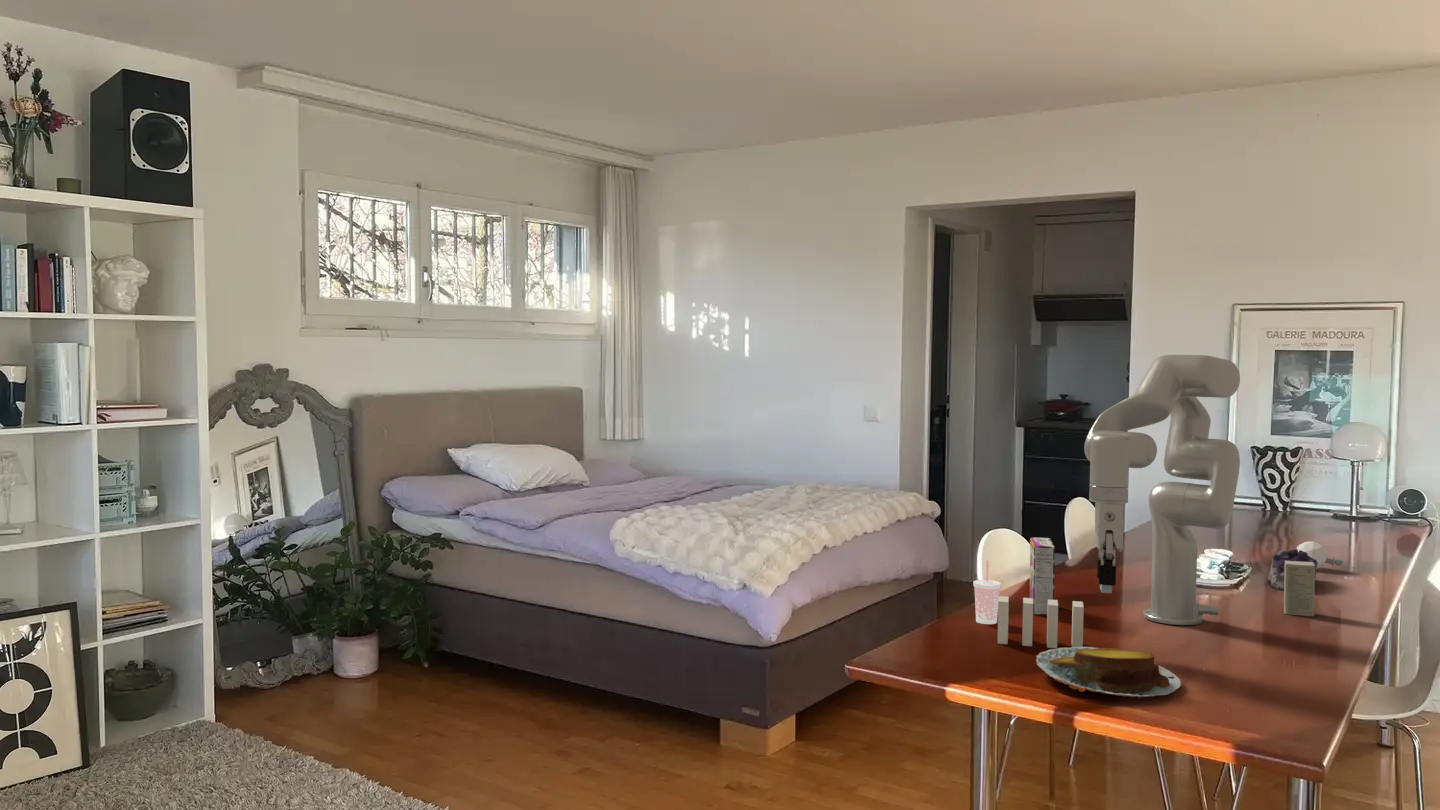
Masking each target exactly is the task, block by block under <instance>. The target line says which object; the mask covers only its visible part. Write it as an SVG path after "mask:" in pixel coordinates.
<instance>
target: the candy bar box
mask: <svg viewBox="0 0 1440 810" xmlns="http://www.w3.org/2000/svg"><path fill="white" fill-rule="evenodd" d="M1029 542H1030V543H1029V598H1033V615H1036V616H1047V611H1048V599H1050V600H1055V568H1056V567H1055V553H1056V551H1055V544H1054V543H1053V541H1052V540H1051V538H1049V537H1030V539H1029Z"/></svg>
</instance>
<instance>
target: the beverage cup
mask: <svg viewBox="0 0 1440 810" xmlns="http://www.w3.org/2000/svg"><path fill="white" fill-rule="evenodd" d="M989 566H990V565H989V560H986V565H985V568H986V569H985V573H986V575H985V579H976V580H973V581H972V582H973V587H974V602H975V603H974V604H975V605H974V606H975V622H976V623H978V624H982V625H995V624H998V600H999V596H1000V588H1002V586H1001V585H1002V583H1001V581H997V580H994V579H989Z"/></svg>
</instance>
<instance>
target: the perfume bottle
mask: <svg viewBox="0 0 1440 810" xmlns="http://www.w3.org/2000/svg"><path fill="white" fill-rule="evenodd" d="M1296 549H1298V552H1299V550H1301V551H1304V552H1306V553H1307V555H1308V556H1309V557H1312V558H1313V559H1316V561H1317V562H1318V564H1317V570H1319V569H1321V568H1322V567H1324V566H1325V564H1329V565H1331V567H1333V566H1334V565H1336V566H1338V567H1339V566H1342V565H1343V563H1344V562H1343V559H1341V558H1335V557H1334V558H1328V556H1327V551H1326V549H1325V548H1324V547H1323V545H1322V544H1320V543H1317V542H1316V541H1304V542H1302V543H1300V544H1298V545H1297V546H1296Z"/></svg>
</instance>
